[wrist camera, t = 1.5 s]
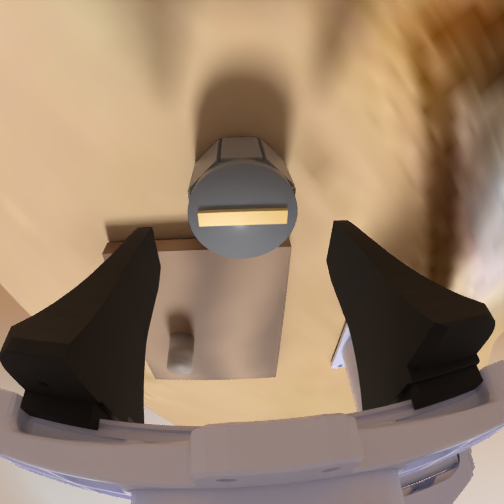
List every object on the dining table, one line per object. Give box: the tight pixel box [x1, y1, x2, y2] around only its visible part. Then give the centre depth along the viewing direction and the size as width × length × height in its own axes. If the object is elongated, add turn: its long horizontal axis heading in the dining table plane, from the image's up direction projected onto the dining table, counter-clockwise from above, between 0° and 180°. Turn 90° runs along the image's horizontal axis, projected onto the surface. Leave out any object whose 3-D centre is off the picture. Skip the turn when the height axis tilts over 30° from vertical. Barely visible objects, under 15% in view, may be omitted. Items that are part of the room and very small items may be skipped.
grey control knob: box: [188, 137, 297, 259], centre depth 15 cm, size 5×5×4 cm
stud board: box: [102, 237, 291, 380], centre depth 23 cm, size 12×16×4 cm
